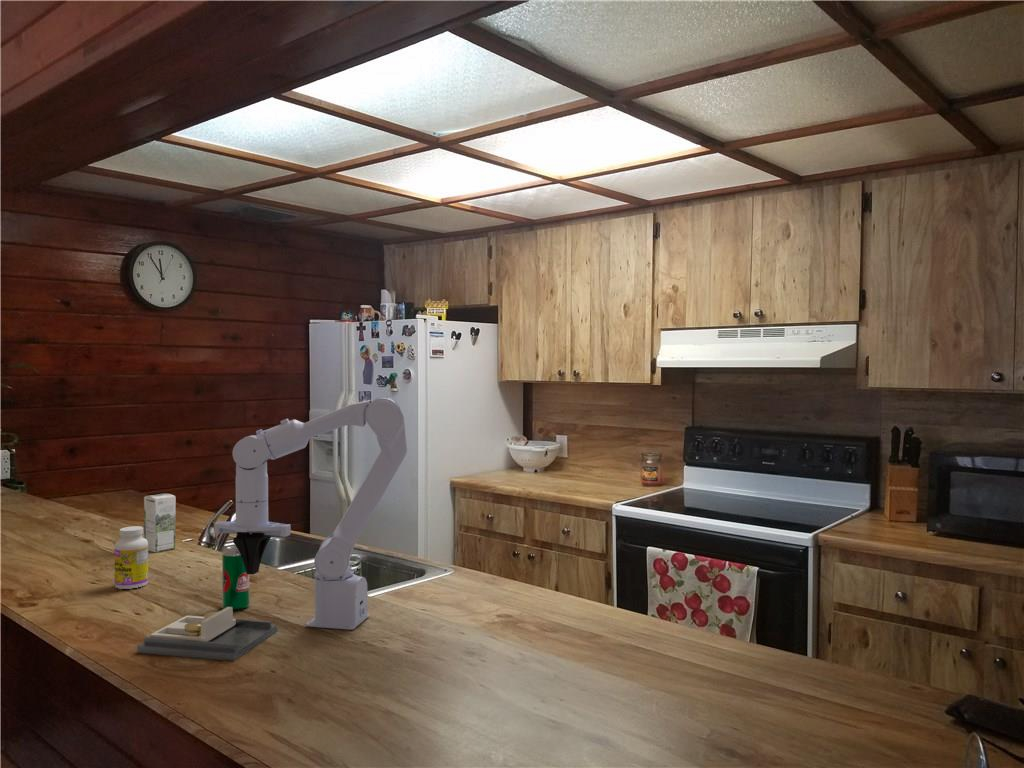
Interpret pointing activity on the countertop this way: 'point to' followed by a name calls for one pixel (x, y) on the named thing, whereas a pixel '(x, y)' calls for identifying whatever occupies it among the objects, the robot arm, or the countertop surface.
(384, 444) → the robot arm
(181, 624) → the panel
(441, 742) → the countertop surface
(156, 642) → the boss plate
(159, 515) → the syrup box
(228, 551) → the soda can
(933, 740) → the countertop surface
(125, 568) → the supplement bottle
